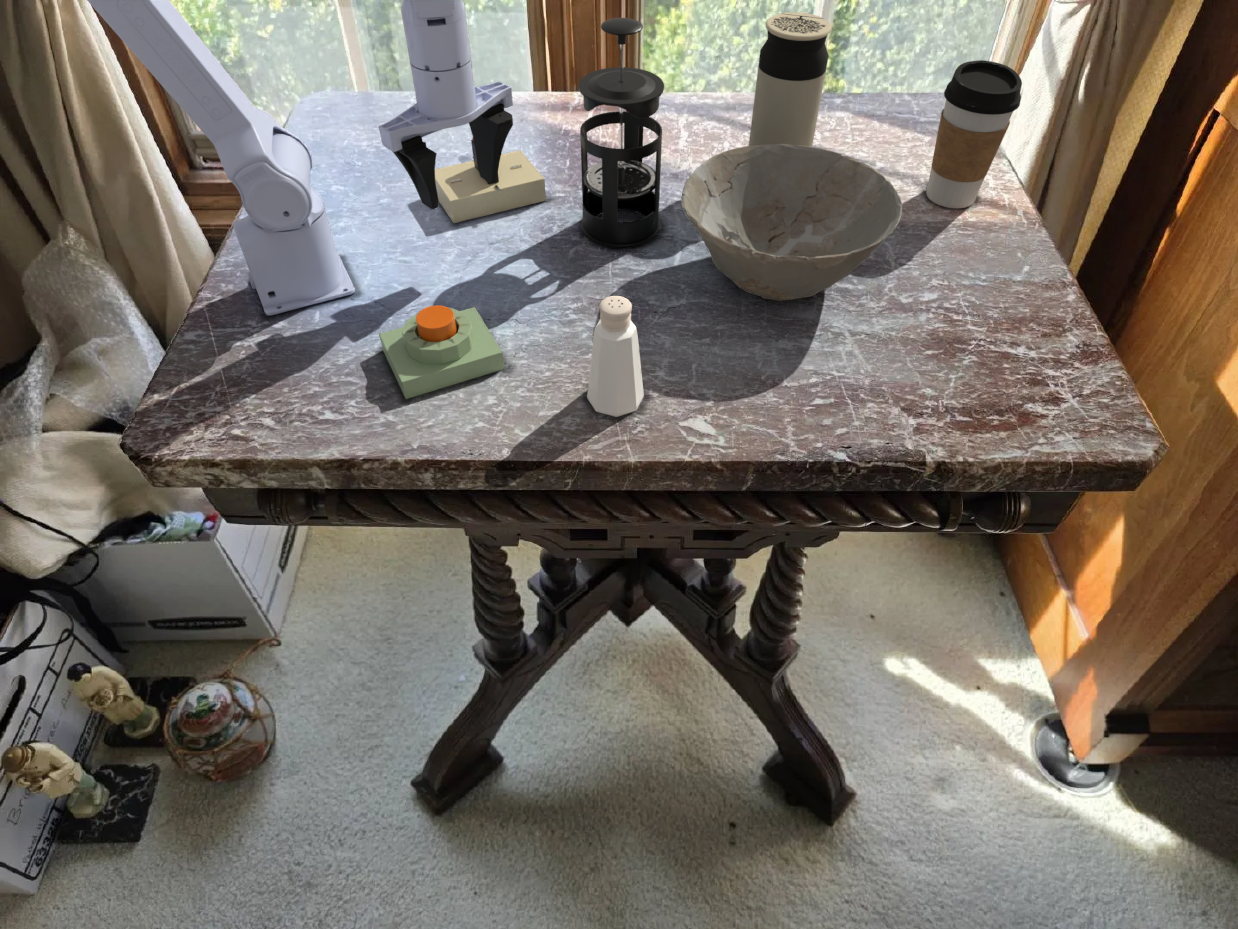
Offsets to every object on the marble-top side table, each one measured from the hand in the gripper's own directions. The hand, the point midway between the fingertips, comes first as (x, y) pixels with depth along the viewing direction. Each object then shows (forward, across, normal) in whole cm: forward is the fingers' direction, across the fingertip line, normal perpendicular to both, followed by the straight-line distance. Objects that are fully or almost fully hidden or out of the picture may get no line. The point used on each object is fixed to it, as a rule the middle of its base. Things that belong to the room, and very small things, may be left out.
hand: (459, 191), depth 89 cm
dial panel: (+9, -10, -10) cm, 17 cm away
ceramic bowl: (+9, -23, +26) cm, 36 cm away
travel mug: (+9, -42, +10) cm, 44 cm away
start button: (+5, +12, +12) cm, 18 cm away
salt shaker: (+9, +4, +28) cm, 29 cm away
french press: (+9, -18, +6) cm, 21 cm away
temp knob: (+6, -10, -10) cm, 16 cm away
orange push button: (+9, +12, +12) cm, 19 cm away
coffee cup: (+9, -52, +30) cm, 61 cm away
